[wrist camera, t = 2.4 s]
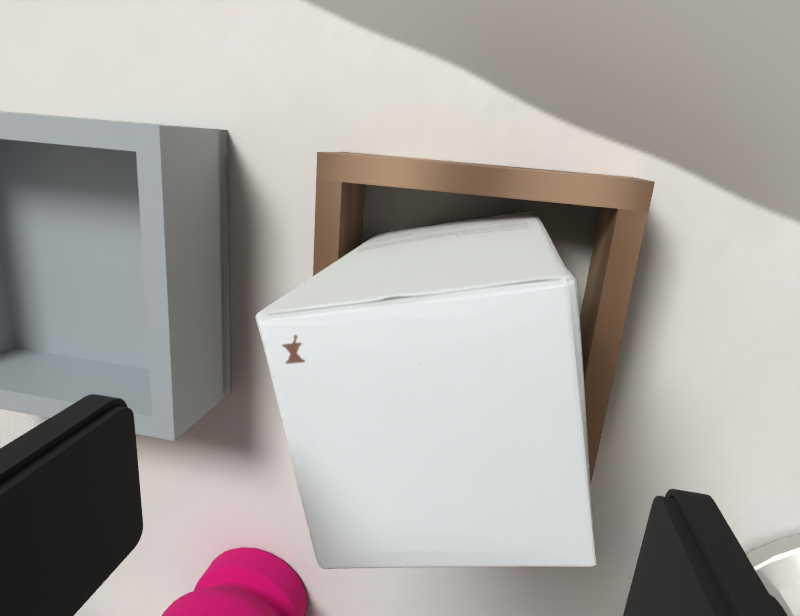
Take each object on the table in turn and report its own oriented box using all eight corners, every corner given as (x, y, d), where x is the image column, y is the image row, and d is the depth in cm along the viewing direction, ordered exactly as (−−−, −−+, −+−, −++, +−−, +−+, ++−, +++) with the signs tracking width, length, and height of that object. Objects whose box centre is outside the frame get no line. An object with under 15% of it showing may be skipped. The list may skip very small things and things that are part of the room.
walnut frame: (632, 177, 22) (654, 182, 18) (579, 441, 25) (590, 485, 22) (344, 151, 24) (317, 152, 20) (332, 400, 27) (307, 435, 24)
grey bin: (227, 130, 24) (159, 125, 20) (230, 392, 28) (174, 441, 23) (-20, 109, 26) (-135, 100, 22) (14, 356, 30) (-77, 394, 26)
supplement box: (399, 382, 26) (307, 576, 14) (373, 230, 24) (242, 306, 12) (557, 371, 24) (602, 579, 13) (542, 207, 23) (578, 269, 11)
